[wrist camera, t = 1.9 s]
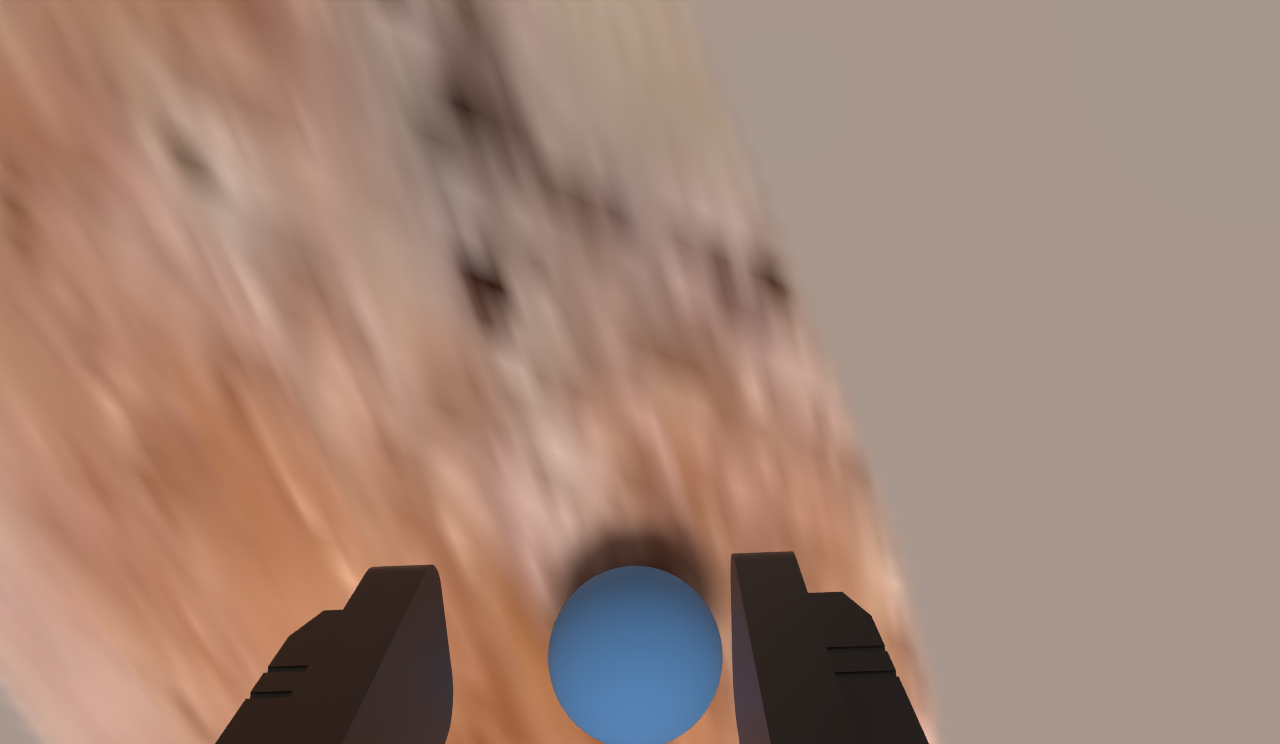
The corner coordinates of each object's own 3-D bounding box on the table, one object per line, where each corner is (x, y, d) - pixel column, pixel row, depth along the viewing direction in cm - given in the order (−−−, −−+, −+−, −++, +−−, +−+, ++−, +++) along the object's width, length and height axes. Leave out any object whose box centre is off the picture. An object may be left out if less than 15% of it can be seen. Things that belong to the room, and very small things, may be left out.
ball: (551, 539, 27) (530, 630, 22) (713, 532, 27) (728, 623, 22) (562, 678, 28) (546, 793, 23) (717, 672, 28) (732, 787, 23)
